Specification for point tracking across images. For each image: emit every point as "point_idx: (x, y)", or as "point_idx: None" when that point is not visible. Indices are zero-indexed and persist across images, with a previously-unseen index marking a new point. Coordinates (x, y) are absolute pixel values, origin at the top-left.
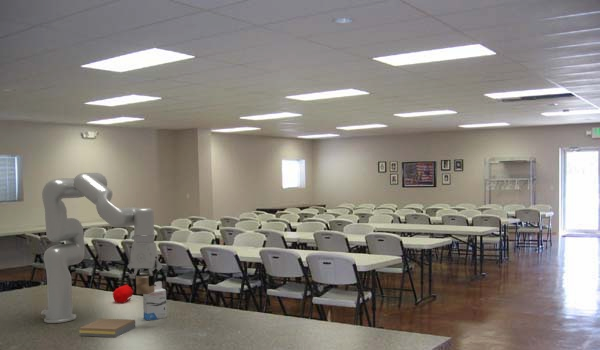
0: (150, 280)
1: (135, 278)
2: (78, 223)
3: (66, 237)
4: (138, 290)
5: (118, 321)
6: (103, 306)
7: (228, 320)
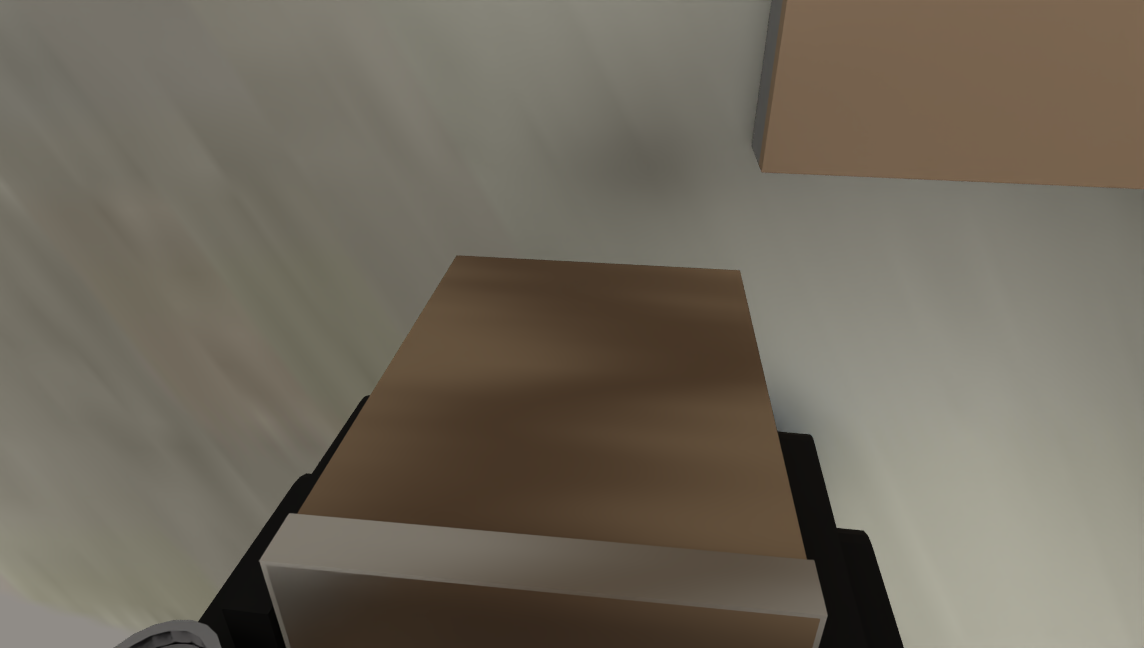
0: (304, 500)
1: (882, 636)
2: None
3: None
4: (689, 305)
5: (972, 59)
6: None
7: (34, 413)
